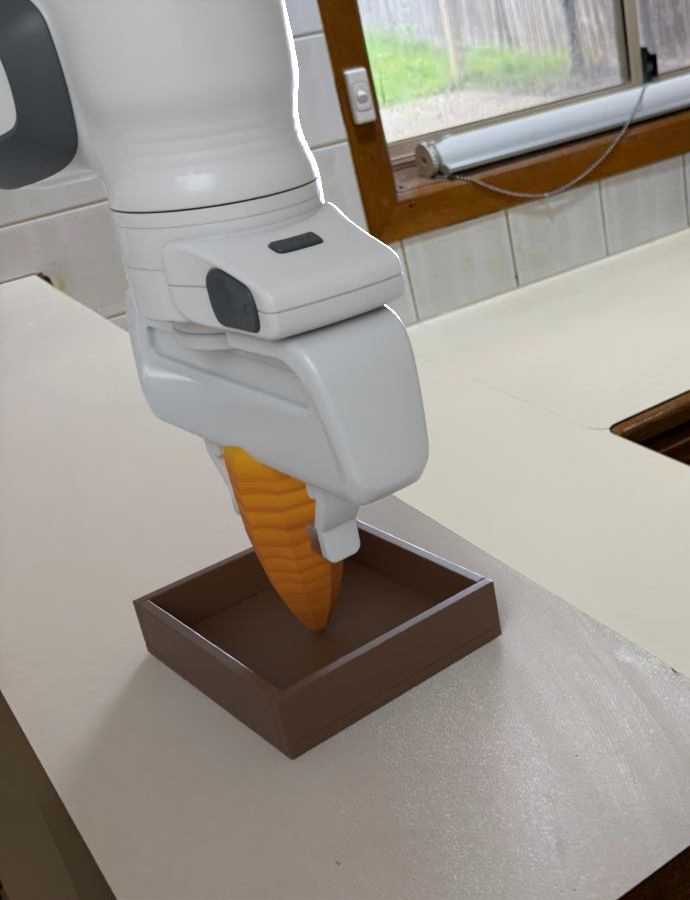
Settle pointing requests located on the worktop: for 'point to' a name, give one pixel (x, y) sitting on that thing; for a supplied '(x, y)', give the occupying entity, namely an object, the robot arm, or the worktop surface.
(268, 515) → the carrot
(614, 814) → the worktop surface
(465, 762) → the worktop surface
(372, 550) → the tray
